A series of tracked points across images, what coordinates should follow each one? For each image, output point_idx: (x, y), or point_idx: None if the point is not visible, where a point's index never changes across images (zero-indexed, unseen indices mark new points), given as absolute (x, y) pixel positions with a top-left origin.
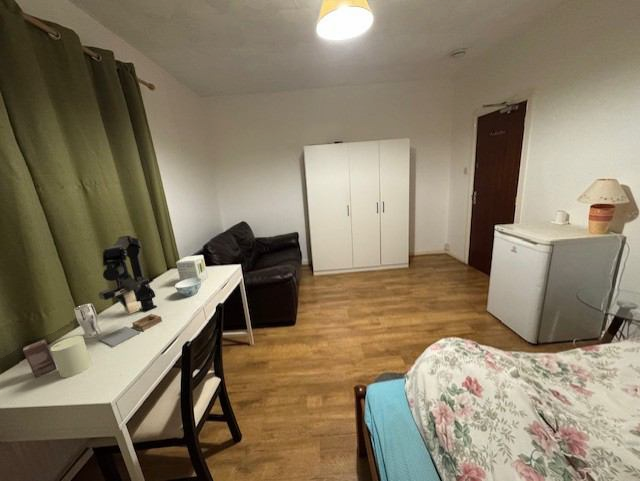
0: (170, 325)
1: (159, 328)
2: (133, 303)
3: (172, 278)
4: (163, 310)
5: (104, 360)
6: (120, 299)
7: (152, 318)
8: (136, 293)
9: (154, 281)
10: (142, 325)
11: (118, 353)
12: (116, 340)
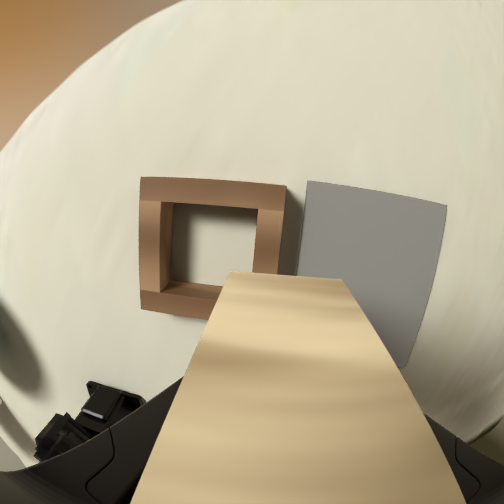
0: (179, 65)
1: (225, 99)
2: (272, 334)
3: (24, 456)
4: (83, 311)
5: (495, 137)
6: (496, 468)
7: (165, 258)
8: (86, 467)
9: None
10: (275, 196)
11: (459, 115)
12: (411, 246)
